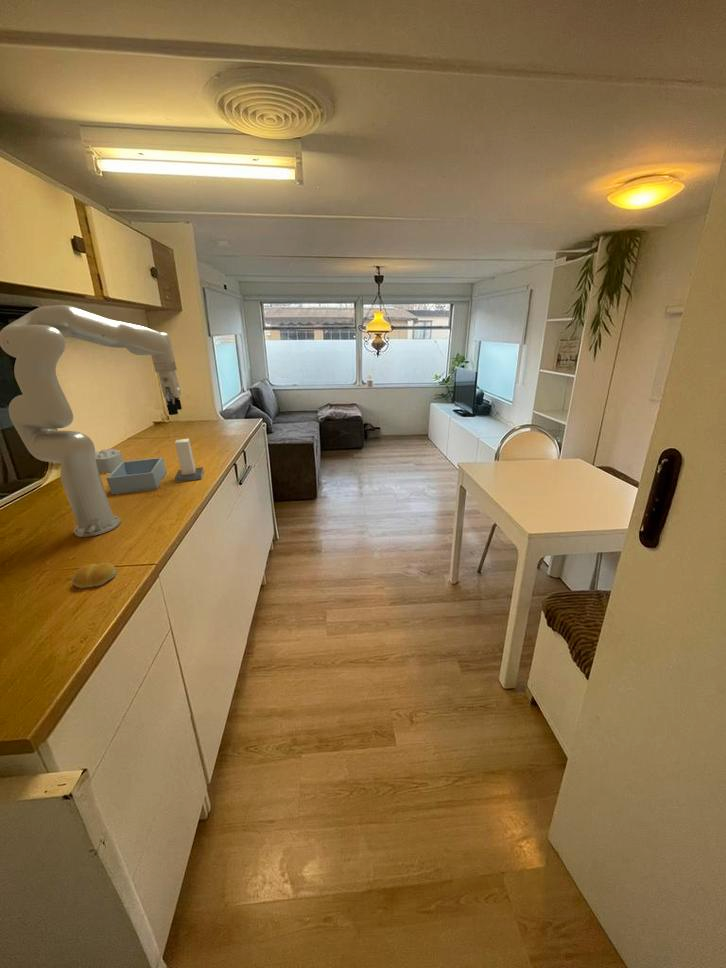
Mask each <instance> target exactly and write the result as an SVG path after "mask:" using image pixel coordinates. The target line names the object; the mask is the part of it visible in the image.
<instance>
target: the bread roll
mask: <svg viewBox="0 0 726 968" xmlns="http://www.w3.org/2000/svg"><path fill="white" fill-rule="evenodd" d="M116 573H117V570H116V567H115V566H114V565H113V563H111V562H101V563H99V564H95V563H89V564H84V565H82V566H80V567H79V568H78V569H77V570H76V571H75V573H74V575H73V576H72V578H71V584H73V586H75V587H76V588H79V589H86V587H87V588H94V587H93V586H96V587H99V585H100V586H102V585H105V584H106V583H107V581H108V580H109V581H110V579H111V580H113V579H114V577H115V576H116ZM109 581H108V582H109ZM105 582H106V583H105Z"/></svg>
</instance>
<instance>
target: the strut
mask: <svg viewBox="0 0 726 968" xmlns="http://www.w3.org/2000/svg"><path fill="white" fill-rule="evenodd" d="M174 445H175V450H176V454H177V458H178V463H179V467H180V470H181V472H182V475H188V474H195V471H196V468H197V467H196V464H195V460H194V455H193V450H192V447H191V441H190V438H183V439H176V440H175V441H174Z"/></svg>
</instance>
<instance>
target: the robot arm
mask: <svg viewBox="0 0 726 968" xmlns="http://www.w3.org/2000/svg"><path fill="white" fill-rule="evenodd" d="M65 338H71V339H77V340H79V341H84V342H87V343H88V342H89V343H91V344H95V345H99V346H103V347H107V348H108V347H109V348H119V349H120V348H122V349H126V350H127V351H129V352H130V353H131V354H132V355H134V356H135V355H136V356H151V360H152V364H153V367H154V373H158V378H159V383H160V385H161V387H160V388H161V392H162V395H163V398H164V399H165V402H166V408H167V412H168V415H169V416H173V415H176V416H177V415H178V414H179V412H178V410H182V408H183V407H182V404H181V399H180V396H181V395H182V392H181V386H180V384H179V383H180V382H179V379H178V377H177V374H176V373H177V371H178V369H177V364H176V359H175V355H174V351H173V347H172V341H171V336H170V335H169V334H168V333H167V332H164V331H163V332H162V331H161V332H159V331H158V330H154V329H153V328H152V329H151V328H148V327H146V326H142V325H138V324H133V323H130V322H129V323H128V322H126V321H125V322H124V321H120V320H116V319H115V320H114V319H111V318H107V317H105V316H101V315H98V314H95V313H92V312H90V311H87V310H84V309H81V308H78V307H75V306H72V305H65V304H63V305H62V304H58V305H43V306H39V307H37V308H35V309H33V310H31V311H30V312H28V313H26V314H24V315H22V316H21V317H19V318H18V319H16V320H14V321H12V322H11V323H9V324H7V325H6V326H5V327H3V328H2V329H1V330H0V347H1V349H2V351H4V352H5V353H6V354H7V355H9V356H11V357H13V358H16V359H15V363H14V365H13V367H14V378H15V380H16V382H17V383H16V384H17V385H18V387H19V389H20V391H21V393H22V394H19V395H16V396H15V397H14V398H13V399H11V401H10V402H9V404H8V414H9V415H8V416H9V419H10V420H11V423H12V425H13V427H14V428H15V430H16V432H17V434H18V435H19V437H20V438H21V442H23V444H24V446H25V447H26V449H27V451H28V452H29V453H30V455H31V456H32V457H34V458H35V459H37V460H39V461H42V462H48V463H58V464H60V473H59V474H60V481H61V484H62V487H63V489H64V492H65V495H66V497H67V500H68V503H69V505H70V508H71V511H72V513H73V517H74V518H75V521H76V523H77V525H75V527H74V528H73V534H74V535H75V536H77V537H80V538H81V537H82V538H83V537H85V538H87V537H94V536H98V535H99V536H100V535H102V534H105V533H107V532H109V531H112V530H114V529H116V528H117V527H118V526H119V525H120V524H121V518H120V516H117V515H115V514H114V513H113V512H112V509H111V504H110V502H109V499H108V496H107V494H106V490H105V486H104V484H103V481H102V478H101V474H99V471H98V468H97V463H96V456H95V452H96V448H95V444H94V442H93V440H92V439H91V438H90V437H89V436H88V435H86V434H84V433H82V432H80V431H74V430H58V429H63V428H67V427H69V426H70V425H71V424H72V423H73V420H74V413H73V410H72V408H71V406H70V404H69V402H68V399H67V397H66V395H65V393H64V391H63V389H62V387H61V384H60V382H59V379H58V376H57V371H56V369H57V364H58V362H59V360H60V358H61V356H62V355H63V354H64V352H65V349H66V339H65Z"/></svg>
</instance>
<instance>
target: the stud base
mask: <svg viewBox="0 0 726 968" xmlns="http://www.w3.org/2000/svg"><path fill="white" fill-rule="evenodd" d="M195 468H196V471H195V474H188V475H182V472H181V469H178V470H177V472H176V473H175V476H174V481H175V483H176V482H177V481H185V482H187V481H186V480H193V481H198V480H197V479H201V480H202V479H203V475H204V471H205V470H204V467H195ZM177 483H178V482H177Z"/></svg>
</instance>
